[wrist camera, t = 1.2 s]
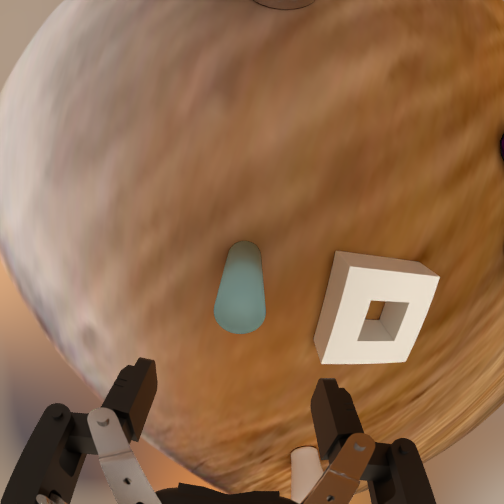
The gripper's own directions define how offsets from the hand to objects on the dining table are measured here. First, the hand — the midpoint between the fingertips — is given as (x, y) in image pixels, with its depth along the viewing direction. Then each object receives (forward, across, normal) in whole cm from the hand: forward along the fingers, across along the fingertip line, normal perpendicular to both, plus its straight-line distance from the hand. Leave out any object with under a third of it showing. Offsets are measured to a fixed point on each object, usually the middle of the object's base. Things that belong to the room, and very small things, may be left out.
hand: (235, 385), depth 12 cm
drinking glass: (+19, -16, +39) cm, 46 cm away
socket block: (+19, -16, +4) cm, 25 cm away
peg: (+19, 0, 0) cm, 19 cm away
